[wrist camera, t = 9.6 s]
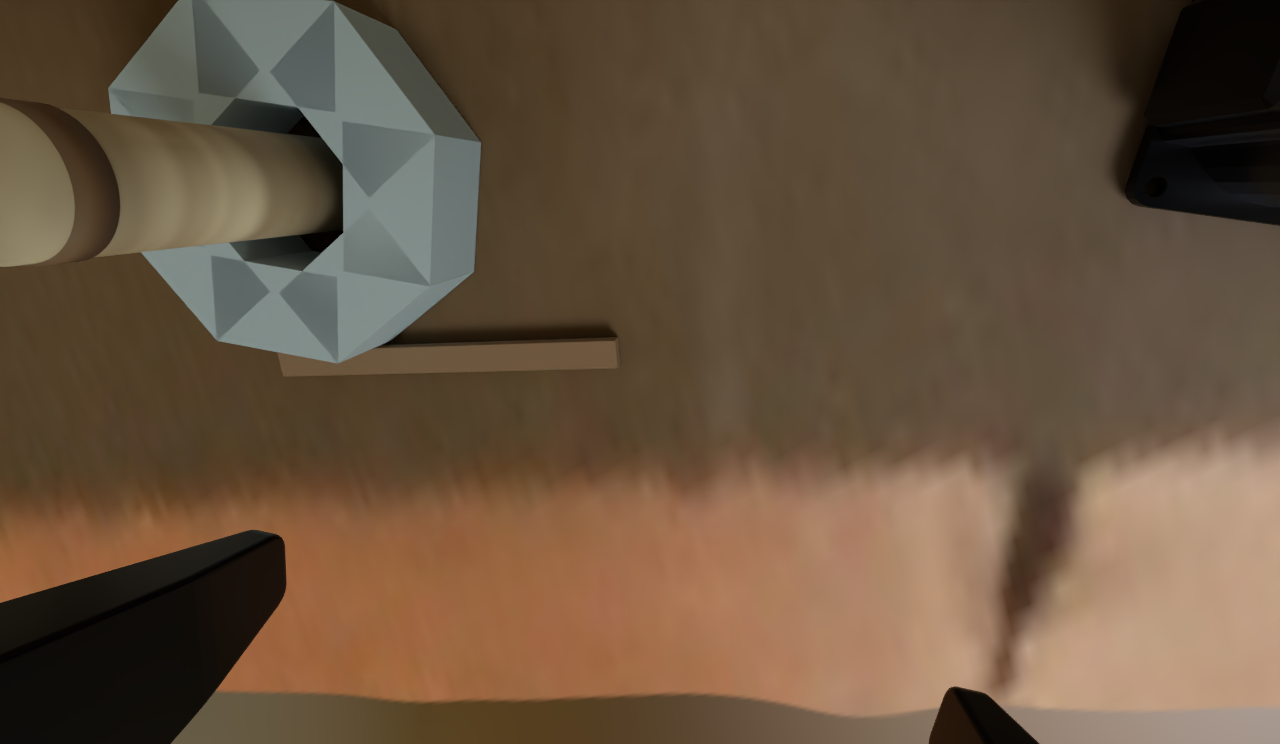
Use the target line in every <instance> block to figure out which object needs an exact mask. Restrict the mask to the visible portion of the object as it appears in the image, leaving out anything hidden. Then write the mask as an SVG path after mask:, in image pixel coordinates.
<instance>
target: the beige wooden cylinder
mask: <svg viewBox="0 0 1280 744" xmlns="http://www.w3.org/2000/svg"><path fill="white" fill-rule="evenodd" d="M338 230H343V164H342V163H341V161H340V160H339V159H338V158H337V156H336V155H335V154H334V152H333V151H332V150H331V149H330V147H329V146H328V145H327V144H326V142H325V141H324V140H323V139H322V138H319V137H310V136H301V135H292V134H284V133H275V132H266V131H257V130H249V129H240V128H231V127H222V126H214V125H205V124H196V123H187V122H179V121H170V120H161V119H152V118H144V117H135V116H126V115H117V114H109V113H100V112H91V111H82V110H74V109H65V108H56V107H54V106H51V105H48V104H43V103H38V102H29V101H21V100H12V99H4V98H0V267H8V266H24V267H35V266H44V265H53V264H62V263H71V262H79V261H84V260H88V259H90V258H93V257H101V256H110V255H119V254H128V253H137V252H146V251H155V250H165V249H174V248H183V247H192V246H201V245H210V244H219V243H229V242H238V241H247V240H256V239H265V238H274V237H283V236H292V235H302V234H311V233H320V232H329V231H338Z"/></svg>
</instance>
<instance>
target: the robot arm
mask: <svg viewBox="0 0 1280 744" xmlns="http://www.w3.org/2000/svg"><path fill="white" fill-rule="evenodd" d="M1144 116H1145V118H1146V121H1147V123H1148V125H1147V128H1146V131H1145V133H1144V136H1143V139H1142V142H1141V144H1140V147H1139V150H1138V153H1137V156H1136V158H1135V161H1134V164H1133V167H1132V169H1131V172H1130V175H1129V178H1128V181H1127V183H1126V189H1125V194H1126V197H1127V199H1128V200H1129V201H1130V202H1131V203H1132V204H1134V205H1137V206H1140V207H1147V208H1155V209H1162V210H1169V211H1176V212H1184V213H1191V214H1198V215H1205V216H1212V217H1220V218H1227V219H1234V220H1241V221H1249V222H1256V223H1263V224H1270V225H1278V226H1280V0H1192V3H1191V4H1189V5H1188V6H1186V7H1185V8H1183V9H1182V11H1181V13H1180V15H1179V18H1178V21H1177V24H1176V26H1175V29H1174V32H1173V35H1172V38H1171V40H1170V43H1169V46H1168V49H1167V52H1166V54H1165V57H1164V60H1163V63H1162V66H1161V68H1160V71H1159V74H1158V77H1157V80H1156V82H1155V85H1154V88H1153V91H1152V94H1151V96H1150V99H1149V102H1148V105H1147V108H1146V110H1145V114H1144ZM1152 178H1154V179H1155V180H1156V181H1157V189H1156V190H1155V192H1154V193H1153V194H1152V195H1150V196H1148V195H1147V194H1146V192H1145V185H1146V183H1147V182H1148V180H1150V179H1152ZM285 590H286V561H285V544H284V541H283V539H282V538H281V537H280V536H279V535H277V534H272V533H268V532H263V531H259V530H249V531H245V532H242V533H238V534H235V535H231V536H228V537H224V538H221V539H218V540H214V541H211V542H207V543H204V544H200V545H197V546H194V547H190V548H187V549H183V550H180V551H177V552H173V553H170V554H166V555H163V556H159V557H156V558H153V559H149V560H146V561H142V562H139V563H135V564H132V565H129V566H125V567H122V568H118V569H115V570H112V571H108V572H105V573H101V574H98V575H94V576H91V577H88V578H84V579H81V580H77V581H74V582H70V583H67V584H64V585H60V586H57V587H53V588H50V589H47V590H43V591H40V592H36V593H33V594H29V595H26V596H23V597H19V598H16V599H12V600H9V601H5V602H2V603H0V744H171V743H172V741H173V740H174V739H175V738H176V737H177V736H178V735H179V733H180V732H181V731H182V730H183V729H184V728H185V727H186V726H187V724H188V723H189V722H190V721H191V720H192V718H193V717H194V716H195V715H196V714H197V713H198V712H199V710H200V709H201V708H202V707H203V706H204V704H205V703H206V702H207V700H208V699H209V698H210V697H211V696H212V694H213V693H214V692H215V690H216V689H217V688H218V687H219V685H220V684H221V683H222V681H223V680H224V679H225V677H226V676H227V674H228V673H229V672H230V670H231V669H232V668H233V666H234V665H235V664H236V662H237V661H238V660H239V658H240V657H241V655H242V654H243V653H244V651H245V650H246V649H247V647H248V646H249V645H250V643H251V642H252V641H253V639H254V638H255V636H256V635H257V634H258V632H259V631H260V630H261V628H262V627H263V626H264V624H265V623H266V622H267V620H268V619H269V617H270V616H271V615H272V613H273V612H274V611H275V609H276V608H277V607H278V605H279V604H280V602H281V600H282V598H283V596H284V593H285ZM929 744H1039V743H1038V742H1037V741H1036V740H1035V739H1034V738H1033V737H1032V736H1031V735H1030V734H1029V733H1028V732H1026V730H1024V729H1023V728H1022V727H1021V726H1020V725H1019V724H1018V723H1017V722H1016V721H1015V720H1014V719H1013V718H1012V717H1011V716H1009V714H1008V713H1006V712H1005V711H1004V710H1003V709H1002V708H1001V707H1000V706H999V705H998V704H997V703H996V702H995V701H994V700H993V699H992V698H990V697H989V696H988V695H986V694H985V693H982V692H978V691H974V690H969V689H965V688H960V687H951V688H949V689H948V690H947V692H946V693H945V695H944V698H943V701H942V704H941V706H940V709H939V712H938V715H937V718H936V720H935V723H934V726H933V729H932V731H931V734H930V739H929Z"/></svg>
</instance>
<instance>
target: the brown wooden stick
mask: <svg viewBox="0 0 1280 744" xmlns="http://www.w3.org/2000/svg"><path fill="white" fill-rule="evenodd" d="M278 357H279V361H280V365H281V369H282V374H283V377H284V376H324V375H364V374H405V373H445V372H486V371H526V370H567V369H607V368H618V367H619V365H620V354H619V341H618V337H607V338H577V339H547V340H517V341H487V342H457V343H427V344H397V345H380V346H377V347H375V348H373V349H370V350H368V351H366V352H364V353H361V354H359V355H357V356H354V357H352V358H350V359H348V360H345V361H343V362H341V363H339V364H337V363H332V362H327V361H322V360H316V359H311V358H306V357H301V356H295V355H290V354H285V353H280V352H278Z"/></svg>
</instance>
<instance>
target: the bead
mask: <svg viewBox="0 0 1280 744" xmlns="http://www.w3.org/2000/svg"><path fill="white" fill-rule="evenodd" d="M108 90H109V98H110V107H111V114H117V115H126V116H135V117H144V118H152V119H161V120H170V121H179V122H187V123H196V124H205V125H214V126H222V127H231V128H240V129H249V130H257V131H266V132H275V133H284V134H287V133H288V132H289V131H290V130H291V129H292V128H293V127H294V126H295V125H296V124H297V123H298V122H299V121H300V120H301V118H302V117H303V116H305V117H306V118H307V120H308V121H309V122H310V123H311V125H312V126H313V127H314V128H315V130H316V131H317V132H318V133H319V135H320V136H321V137H322V139H323V140H324V141H325V142H326V144H327V145H328V146H329V147H330V149H331V150H332V151H333V152H334V154H335V155H336V156H337V158H338V159H339V160H340V161H341V163H342V164H343V233H342V234H341V235H340V236H339V237H338V238H337V239H336V240H335V241H334V242H333V243H332V244H331V245H330V246H329V247H327V248H326V249H325V250H324V251H323V252H322V253H321V252H315V251H312V250H311V249H310V248H309V246H308V245H307V244H306V243H305V242H304V240H303V239H302V238H301V237H300V235H292V236H283V237H274V238H265V239H256V240H247V241H238V242H229V243H219V244H210V245H201V246H192V247H183V248H174V249H165V250H155V251H146V252H141V253H142V254H143V255H144V256H145V257H146V259H147V260H148V261H149V262H150V263H151V264H152V266H153V267H154V268H155V269H156V270H157V271H158V273H159V274H160V275H161V276H162V277H163V278H164V279H165V281H166V282H167V283H168V284H169V285H170V286H171V288H172V289H173V290H174V291H175V292H176V293H177V295H178V296H179V297H180V298H181V299H182V300H183V302H184V303H185V304H186V305H187V306H188V307H189V309H190V310H191V311H192V312H193V313H194V314H195V315H196V317H197V318H198V319H199V320H200V321H201V322H202V324H203V325H204V326H205V327H206V328H207V329H208V331H209V332H210V333H211V334H212V335H213V336H214V338H215V339H216V340H217V341H222V342H227V343H232V344H237V345H243V346H248V347H253V348H258V349H264V350H269V351H274V352H280V353H285V354H290V355H295V356H301V357H306V358H311V359H316V360H322V361H327V362H332V363H337V364H339V363H341V362H343V361H345V360H348V359H350V358H352V357H354V356H357V355H359V354H361V353H364V352H366V351H368V350H370V349H373V348H375V347H377V346H380V345H382V344H384V343H386V342H389V341H391V340H392V339H394V338H395V337H396V336H397V335H398V334H400V333H401V332H402V331H403V330H404V329H406V328H407V327H408V326H409V325H410V324H412V323H413V322H414V321H415V320H416V319H418V318H419V317H420V316H421V315H422V314H424V313H425V312H426V311H427V310H428V309H430V308H431V307H432V306H433V305H435V304H436V303H437V302H438V301H439V300H441V299H442V298H443V297H444V296H445V295H447V294H448V293H449V292H450V291H451V290H453V289H454V288H455V287H456V286H457V285H459V284H460V283H461V282H462V281H463V280H465V279H466V278H467V277H468V276H469V275H471V274H472V273H473V272H474V262H475V244H476V226H477V208H478V190H479V172H480V154H481V142H480V140H479V139H478V138H477V136H476V135H475V134H474V132H473V131H472V130H471V128H470V127H469V126H468V124H467V123H466V122H465V120H464V119H463V118H462V116H461V115H460V114H459V112H458V111H457V110H456V108H455V107H454V106H453V104H452V103H451V102H450V100H449V99H448V98H447V96H446V95H445V94H444V92H443V91H442V90H441V88H440V87H439V86H438V84H437V83H436V82H435V80H434V79H433V78H432V76H431V75H430V74H429V72H428V71H427V70H426V68H425V67H424V66H423V64H422V63H421V62H420V60H419V59H418V58H417V56H416V55H415V54H414V52H413V51H412V50H411V48H410V47H409V46H408V44H407V43H406V42H405V40H404V39H403V37H402V36H401V35H400V33H399V32H398V31H397V29H395V28H392V27H390V26H388V25H386V24H383V23H381V22H379V21H377V20H375V19H372V18H370V17H368V16H366V15H363V14H361V13H359V12H357V11H355V10H352V9H350V8H348V7H346V6H343V5H341V4H339V3H337V2H335V1H327V0H178V2H177V3H176V4H175V5H174V7H173V8H172V9H171V10H170V12H169V13H168V14H167V15H166V17H165V18H164V19H163V20H162V22H161V23H160V24H159V25H158V27H157V28H156V29H155V30H154V32H153V33H152V34H151V35H150V37H149V38H148V39H147V40H146V42H145V43H144V44H143V45H142V47H141V48H140V49H139V50H138V52H137V53H136V54H135V55H134V57H133V58H132V59H131V60H130V62H129V63H128V64H127V65H126V67H125V68H124V69H123V70H122V72H121V73H120V74H119V75H118V77H117V78H116V79H115V81H114V82H113V83H112V84H111V86H110V87H109V88H108Z"/></svg>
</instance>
